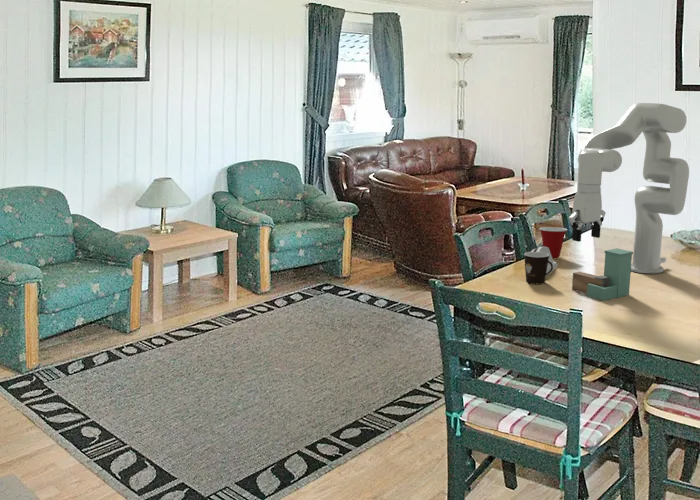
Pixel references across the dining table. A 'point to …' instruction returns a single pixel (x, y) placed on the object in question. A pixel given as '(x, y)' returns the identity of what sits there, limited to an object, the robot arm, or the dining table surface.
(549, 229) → the plastic cup
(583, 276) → the brown wooden block
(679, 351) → the dining table surface
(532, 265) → the coffee mug
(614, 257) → the headboard post
